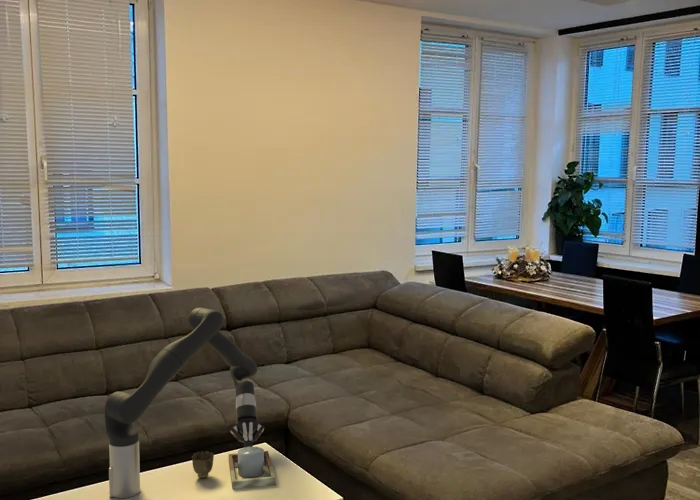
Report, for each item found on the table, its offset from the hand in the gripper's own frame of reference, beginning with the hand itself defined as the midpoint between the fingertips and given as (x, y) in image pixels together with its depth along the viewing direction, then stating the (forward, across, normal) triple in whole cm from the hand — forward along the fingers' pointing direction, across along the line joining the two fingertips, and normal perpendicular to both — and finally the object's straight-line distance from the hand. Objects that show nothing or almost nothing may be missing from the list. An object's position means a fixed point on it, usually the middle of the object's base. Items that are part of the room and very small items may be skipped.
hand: (249, 452), depth 245 cm
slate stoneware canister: (+9, 0, -3) cm, 9 cm away
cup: (+9, -16, -3) cm, 19 cm away
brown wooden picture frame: (+9, 0, -3) cm, 9 cm away
